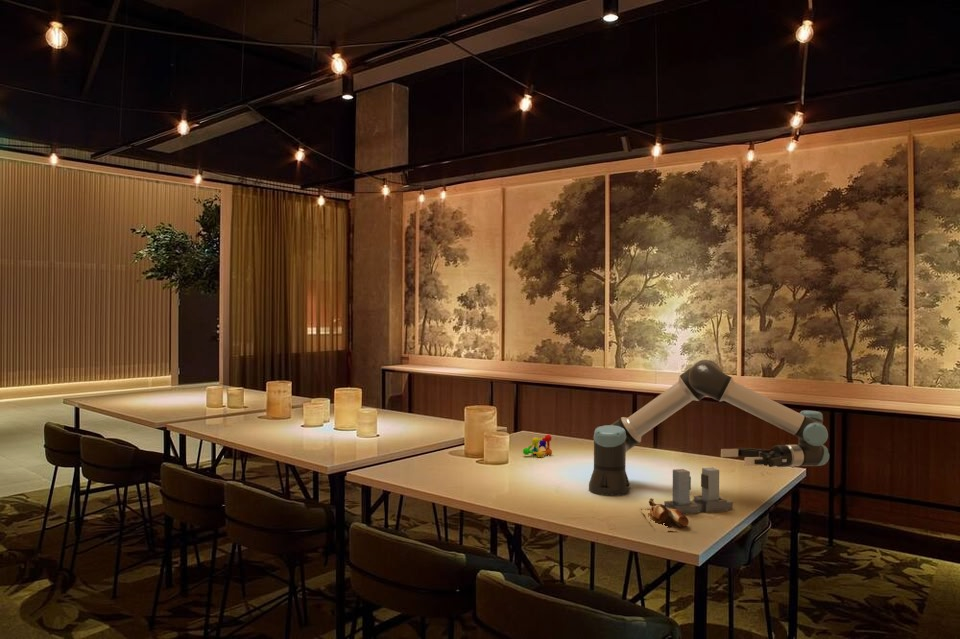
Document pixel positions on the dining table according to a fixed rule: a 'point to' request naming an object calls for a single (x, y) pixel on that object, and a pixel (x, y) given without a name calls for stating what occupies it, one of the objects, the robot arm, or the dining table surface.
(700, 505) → the grey blocky piece
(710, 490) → the gray rectangular block
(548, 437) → the molecular model
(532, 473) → the dining table surface
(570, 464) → the dining table surface
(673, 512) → the ballet pointe shoes
